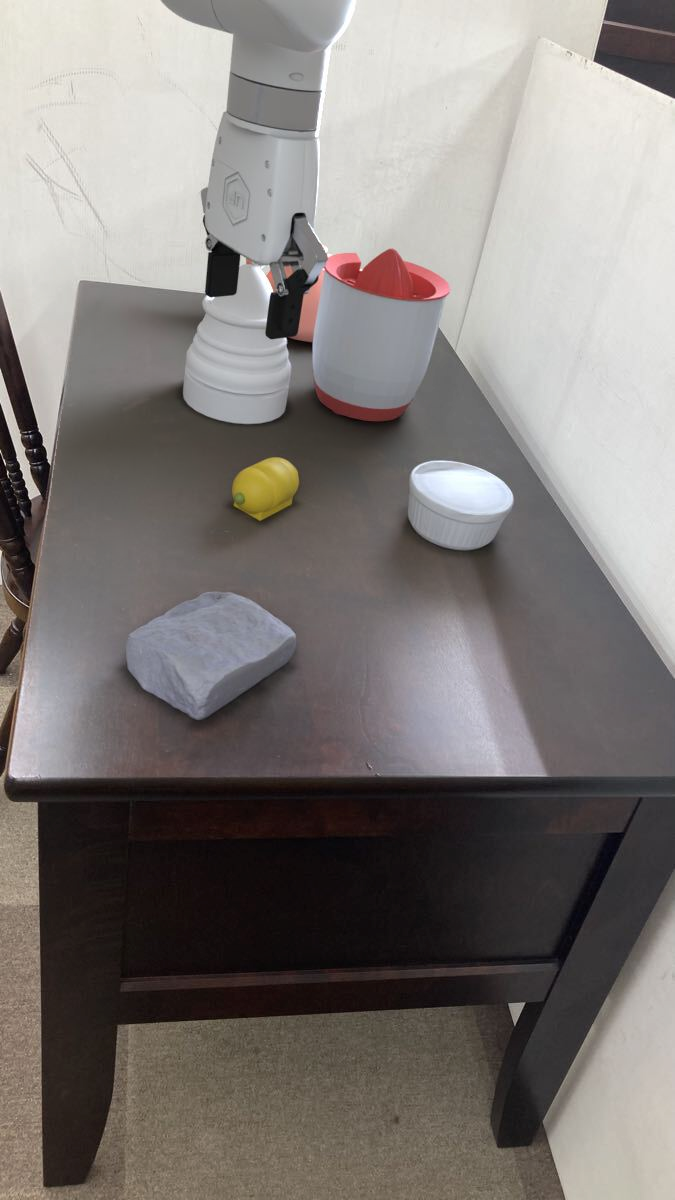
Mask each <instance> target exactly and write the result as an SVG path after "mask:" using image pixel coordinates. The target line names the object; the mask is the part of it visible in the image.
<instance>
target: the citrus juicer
mask: <svg viewBox="0 0 675 1200" xmlns="http://www.w3.org/2000/svg"><path fill="white" fill-rule="evenodd" d="M331 255H332V256H330V257H328V261H327V263H326V265H325V266H324V269H325V270H324V276H323V282H322V288H321V294H320V299H319V305H318V311H317V317H316V323H315V329H314V338H313V342H312V368H313V369H312V370H313V384H314V387H315V392H316V396H317V398H318V400H319V401H320V402H321V404H323V405H324V406H325V407H327V408H328V409H330V410H331V411H332V412H333V413H334V414H336V415H340V416H344V417H348V418H351V419H356V420H359V421H360V420H361V421H365V422H386V421H393V420H395V419H398V418H399V417H401V416H402V415H403V413H404V412H405V411H406V410H407V409H408V407H409V406H410V404H411V403H412V402H413V399H414V398H415V395H416V393H417V391H418V390H419V388H420V386H421V384H422V382H423V380H424V379H425V378H424V377H425V375H426V374H427V370H428V368H429V363H430V361H431V358H432V353H433V349H434V345H435V341H436V338H437V334H438V330H439V326H440V322H441V317H442V315H443V311H444V306H445V303H446V298H447V296H449V294H450V292H451V287H450V284H449V283H448V281H447V280H446V279H445V278H443V277H442V276H440V275H439V273H436V272H434V271H432V270H430V269H428V268H426V267H424V266H422V265H418V264H416V263H413V262H410V261H405V260H403V258H402V257H401V255H400V253H399V252H398V250H397V249H395V248H393V247H392V248H387V249H386V250H384V251H383V252H381V253H379V254H378V255H377V256H376V257H374V258H373V259H372V260H370V261H369V262H368V263H367V264H366V265H365V266H364V267H363V268H362V269H363V270H362V271H360V269H361V266H362V261H361V259H360V257H359V256H358V254H357V252H342V253H336V254H331Z"/></svg>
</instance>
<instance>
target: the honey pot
mask: <svg viewBox="0 0 675 1200" xmlns="http://www.w3.org/2000/svg"><path fill="white" fill-rule="evenodd" d="M252 263H253V264H254V265H252V264H246V263H245V264H242V265H240V266H239V275H238V284H237V292H236V294H235V295H232V296H221V297H209V296H207V295H206V296H204V297H203V300H202V302H201V305H202V309H203V311H204V312H205V314H204V316H203V319H202V321H200V322H199V323H198V325H197V327H196V333H195V334H194V336H193V338H192V343H191V344H190V345H189V347H188V349H187V350H186V354H185V359H186V360H185V363H184V364H185V367H184V375H183V386H182V396H183V400H184V401H185V402H186V404H187V406H189V407H190V408H191V409H193V410H194V411H195V412H197V413H199V414H201V415H204V416H206V417H208V418H211V419H214V420H217V421H223V422H226V423H232V424H242V425H254V424H263V423H268V422H272V421H274V420H276V419H279V418H280V417H282V415H284V413H285V412H286V407H287V401H288V395H289V388H290V381H291V374H292V364H291V361H290V359H289V355H290V354H289V350H288V348H287V344H288V339H287V338H279V339H269V338H268V337H267V336H266V334H265V331H266V323H267V316H268V308H269V300H270V295H271V292H273V290H272V288H271V285H270V283H269V281H268V279H267V277H266V275H265V273H264V272H263V270H262V269H263V268H264V267H265V266H261V265H258V264H255V263H254V262H252Z"/></svg>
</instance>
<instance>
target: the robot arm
mask: <svg viewBox="0 0 675 1200" xmlns="http://www.w3.org/2000/svg"><path fill="white" fill-rule="evenodd" d="M160 2H161V3H162V4H163V6H165V7H166V8H167V9H168V10H169V11H171V12H172V13H173V14H174V15H176V16H178V17H179V18H181V19H183V20H185V21H187V22H190V23H192V24H195V25H199V26H201V27H205V28H208V29H212V30H217V31H220V32H223V33H227V34H231V35H232V42H231V43H232V45H231V55H230V56H231V57H230V64H229V65H230V67H229V73H228V74H229V75H228V87H227V98H226V109H225V111H223V112H222V116H221V118H220V122H219V125H218V128H217V129H218V130H217V134H216V137H215V141H214V148H213V152H212V158H211V164H210V170H209V177H208V185H207V187H204V188H202V189H201V191H200V198H201V205H202V211H203V212H202V213H203V214H204V215H203V216H202V224H203V226H204V230H205V234H206V238H205V241H204V244H205V248H206V250H207V251H208V252H207V264H206V276H205V286H204V294H205V295H206V296H209V297H221V296H232V295H235V294H236V292H237V284H238V275H239V267H240V266H241V256H242V257H243V258H245V259H246V258H247V259H248V260H250V261H252V262H254V263H255V264H258V265H261V266H264V267H265V266H269V269H271V273H272V277H273V280H274V284H275V288H276V291H277V292H271V295H270V300H269V308H268V316H267V323H266V331H265V334H266V336H267V337H268V338H269V339H279V338H286V339H287V338H289V337H294V336H296V335H297V333H298V329H299V322H300V316H301V309H302V303H303V296H304V294H308V293H309V291H310V288H311V287H312V286H313V285H314V284H316V283H317V281H318V278H319V275H320V273H321V271H322V270H323V268H324V266H325V265H326V263H327V261H328V255H327V254H328V252H327V253H326V251H325V249H324V248H323V246H324V245H323V244H322V243H321V241H320V239H319V238H318V236H317V234H316V233H315V231H314V229H315V222H316V215H317V205H318V194H319V193H318V191H319V177H320V176H319V174H320V173H319V172H320V138H318V136H319V132H320V125H321V118H322V111H323V106H324V105H323V103H324V98H325V91H326V90H325V89H326V84H327V75H328V69H329V63H330V55H331V49H332V45H333V44H335V42H337V41H338V40H339V38H340V37H341V36H342V35H343V33H344V32H345V30H346V29H347V28H348V25H349V23H350V21H351V18H352V16H353V13H354V11H355V5H356V3H357V0H160ZM322 245H323V246H322ZM284 266H291V269H292V272H293V274H292V275H290V276H289V277H288V278H287V277H286V273H285V269H284Z"/></svg>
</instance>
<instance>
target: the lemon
mask: <svg viewBox="0 0 675 1200" xmlns="http://www.w3.org/2000/svg"><path fill="white" fill-rule="evenodd" d="M299 485H300V479H299V472H298V469H297V468H296V467H295V466H294V465H293V464H292V463H291V462H290V461H289V460H287V459H285V458H282V457H280V456H279V457H278V456H277V457H275V456H274V457H273V456H272V457H268V458H265V459H264V460H261V461H259V462H257V463H255V464H253V465H250V466H248V467H246V468H244V469H242V470H241V471H240V472H239V473H237V475H236V476H235V478H234V480H233V482H232V487H231V494H232V498H233V507H235V508H236V509H238V510H240V511H242V512H244V513H245V514H247V515H248V516H250V517H252V518H253V519H256V520H258V521H259V522H261V521H263V520H265V519H267V518H269V517H270V516H272V515H274V514H276V513H279V512H280V511H282V510H284V509H286V508H287V507H289V506H292V504H293V497H294V496H295V495H296V493H297V491H298V488H299Z"/></svg>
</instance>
